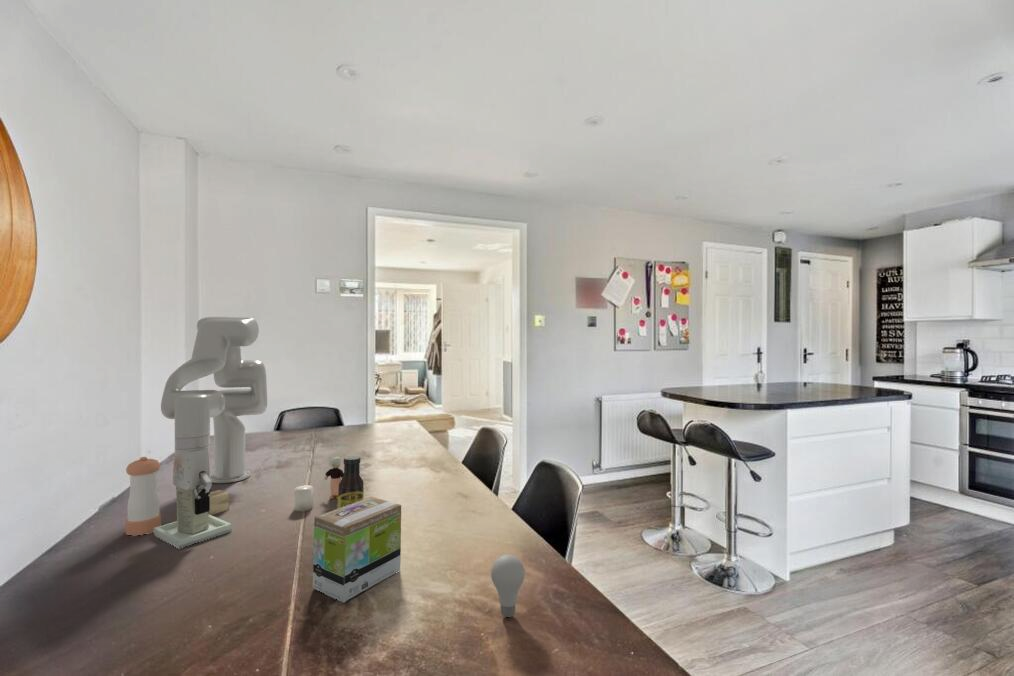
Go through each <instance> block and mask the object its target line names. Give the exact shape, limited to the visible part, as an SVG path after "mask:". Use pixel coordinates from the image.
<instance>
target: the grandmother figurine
mask: <svg viewBox="0 0 1014 676" xmlns="http://www.w3.org/2000/svg"><path fill="white" fill-rule="evenodd" d="M341 460H342V459H341V458H340V457H339V456H334V457H333V458H331V460H330V461H329V466H331V468H330V469H328V470H327V471H326V472H325V474H324V475H325V476H324V479H323V480H328V479H329V478H330V497H329V499H332V500H333V499H336V500H338V493H339V483H340V482H341V480H342V478H343V476H344V470H342V469H340V466H341V462H342V461H341Z"/></svg>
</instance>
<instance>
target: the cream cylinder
mask: <svg viewBox="0 0 1014 676" xmlns="http://www.w3.org/2000/svg"><path fill="white" fill-rule="evenodd" d="M311 508H312V509H313V508H314V486H313V485H309V484H308V485H307V484H306V485H300V486H297V487H295V488H294V511H295V512H298V511H302V512H307V510H308V511H310V510H312V509H311Z"/></svg>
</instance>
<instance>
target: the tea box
mask: <svg viewBox="0 0 1014 676" xmlns="http://www.w3.org/2000/svg"><path fill="white" fill-rule="evenodd" d="M313 525H314V527H313V558H312V560H313V561H312V563H313V564H312V565H313V566H312V567H313V569H312V589H314V590H316V591H318V592H319V591H320V592H319V593H321V592H322V594H323V593H324V595H325V596H328V597H330V598H331V599H333V600H336V599H337V600H336V601H338V602H340V603H343V604H344V603H346V602H348V601H349V600H350V599H353V598H354V597H355V596H358V595H359V594H361V593H363V592H365V591H366V590H368V589H369V588H371V587H374V586H375V585H377V584H379V583H381V582H382V581H385V579H388V578H390V577H392V576H394V575H396V574H397V573H399V572H400V571H401V561H402V560H401V554H402V551H401V546H402V538H401V537H402V504H399V503H396V502H392V501H389V500H385V499H381V498H377V497H374V496H369V497H367V498H363V500H361V501H358V502H355V503H352V504H349V505H347V506H344V507H341V508H338V509H337V508H336V509H333V510H331V511H327V512H324V513H322V514H319V515H316V516H314V524H313ZM398 571H399V572H398ZM396 572H397V573H396ZM395 573H396V574H395ZM393 574H394V575H393Z"/></svg>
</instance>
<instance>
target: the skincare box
mask: <svg viewBox="0 0 1014 676" xmlns="http://www.w3.org/2000/svg"><path fill="white" fill-rule="evenodd" d="M201 485H203V484H201ZM197 486H199V485H197ZM203 489H204V488H203ZM201 490H202V489H199V492H201ZM175 492H176V497H175V498H176V521H177V531H179V532H184V533H190V534H195V533H197V532H200V531H202V530H205V529H207V528H209V514H208V512H205V513H202V514H198V515H196V514H195V499H196V495H195V492H194V489H192V490H191V491H187V490H184V489H182V488H179V487H177V486H175Z"/></svg>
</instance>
